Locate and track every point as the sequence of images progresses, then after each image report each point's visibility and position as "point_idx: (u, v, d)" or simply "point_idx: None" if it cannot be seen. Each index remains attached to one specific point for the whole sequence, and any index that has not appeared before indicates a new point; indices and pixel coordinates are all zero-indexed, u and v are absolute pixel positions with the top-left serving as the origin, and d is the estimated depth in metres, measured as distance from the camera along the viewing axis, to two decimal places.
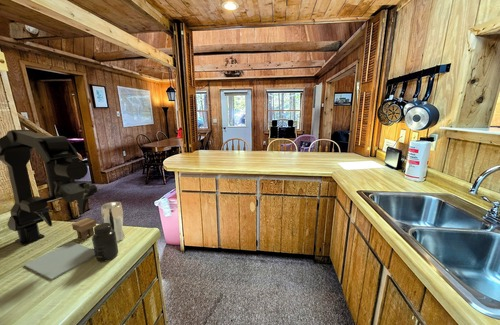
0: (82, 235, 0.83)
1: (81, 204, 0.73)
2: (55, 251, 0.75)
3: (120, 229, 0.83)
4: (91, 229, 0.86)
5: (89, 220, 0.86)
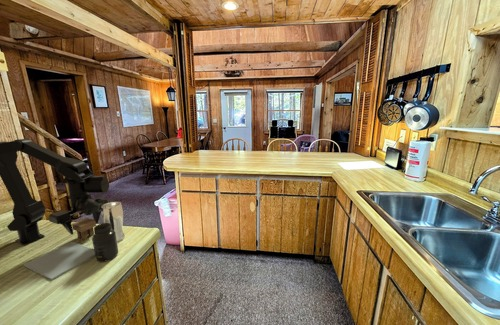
0: (82, 235, 0.83)
1: (95, 215, 0.88)
2: (55, 251, 0.75)
3: (120, 229, 0.83)
4: (91, 229, 0.86)
5: (89, 220, 0.86)
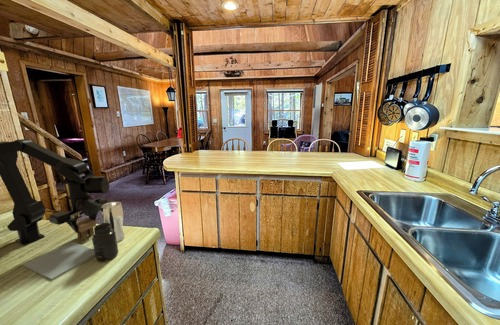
0: (82, 235, 0.83)
1: (91, 217, 0.87)
2: (55, 251, 0.75)
3: (120, 229, 0.83)
4: (91, 229, 0.86)
5: (89, 220, 0.86)
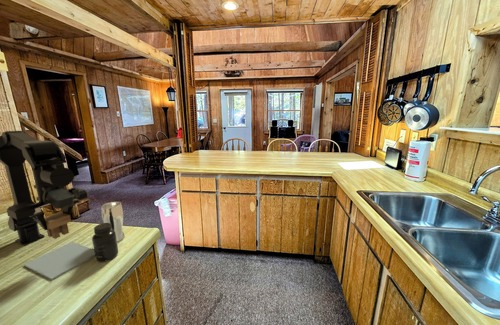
0: (53, 233, 0.67)
1: (65, 211, 0.71)
2: (55, 251, 0.75)
3: (120, 229, 0.83)
4: (65, 226, 0.70)
5: (63, 214, 0.70)
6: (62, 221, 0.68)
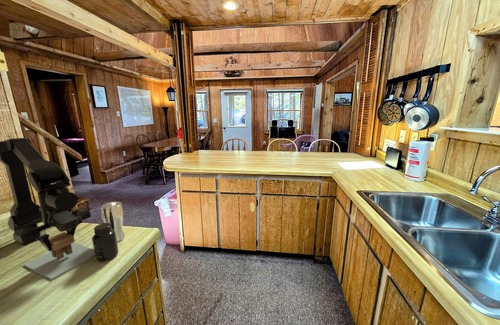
0: (57, 254, 0.69)
1: (69, 232, 0.73)
2: None
3: (120, 229, 0.83)
4: (68, 246, 0.71)
5: (67, 235, 0.72)
6: (66, 242, 0.70)
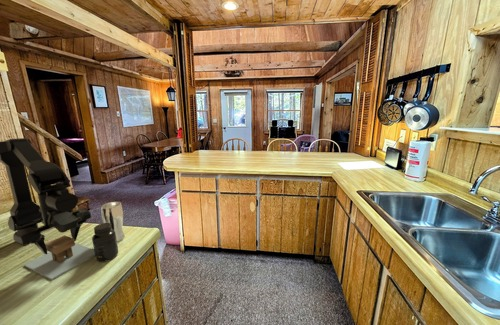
0: (57, 257, 0.69)
1: (73, 231, 0.74)
2: None
3: (120, 229, 0.83)
4: (69, 249, 0.72)
5: (67, 238, 0.72)
6: (66, 245, 0.70)
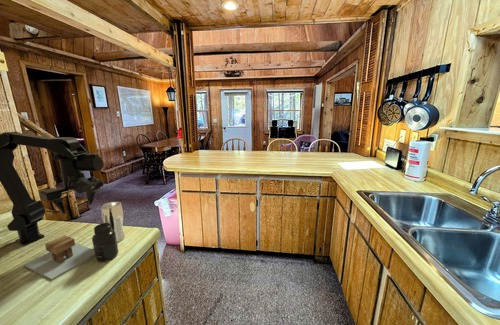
0: (57, 257, 0.69)
1: (89, 196, 0.85)
2: None
3: (120, 229, 0.83)
4: (69, 249, 0.72)
5: (67, 238, 0.72)
6: (66, 245, 0.70)
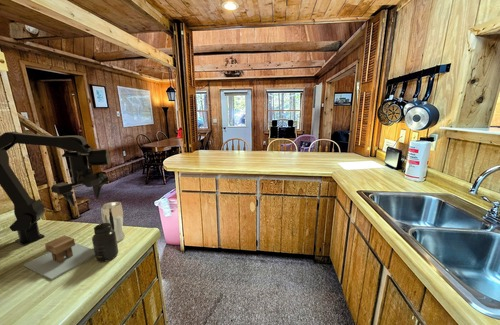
0: (57, 257, 0.69)
1: (96, 190, 0.91)
2: None
3: (120, 229, 0.83)
4: (69, 249, 0.72)
5: (67, 238, 0.72)
6: (66, 245, 0.70)
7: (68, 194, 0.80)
